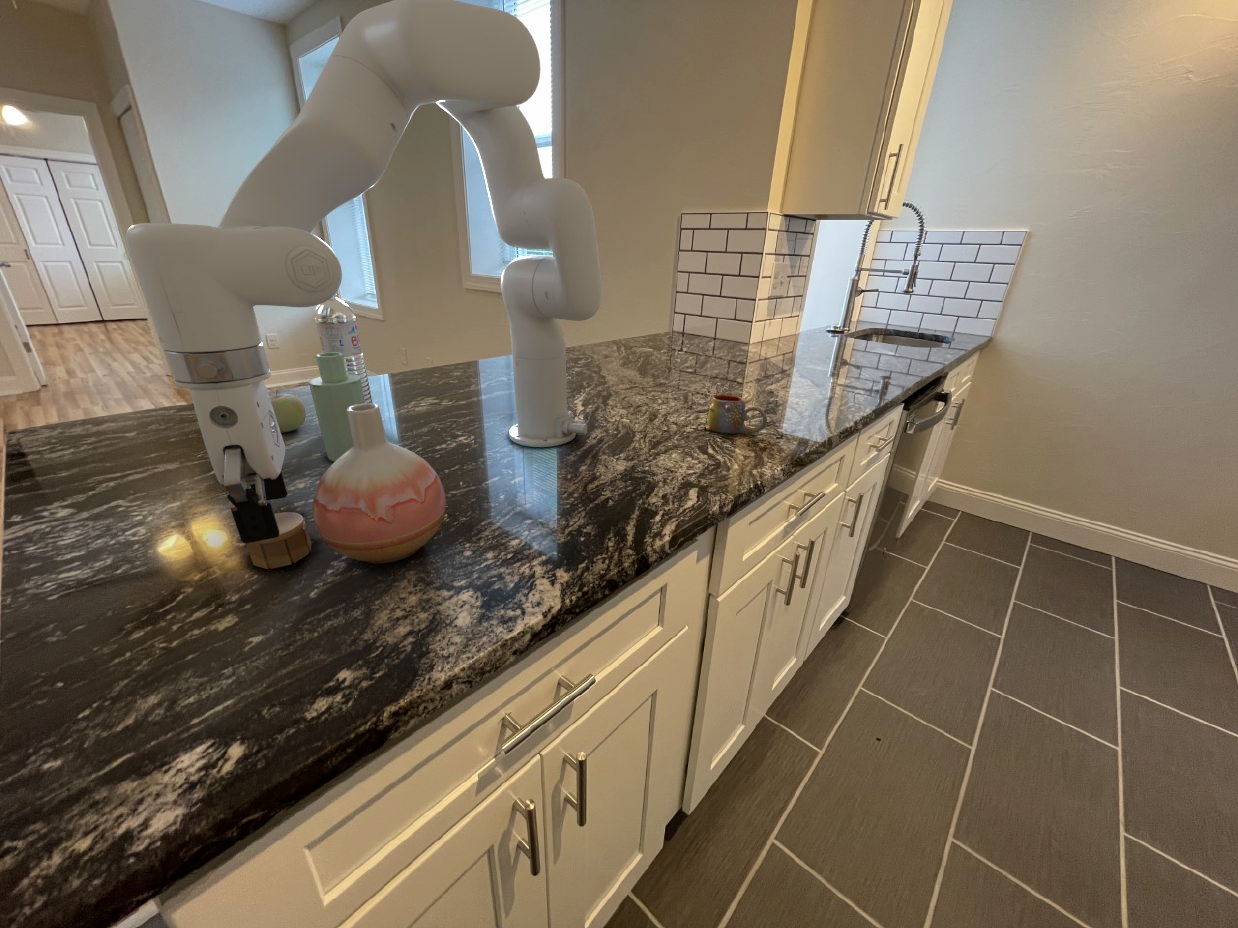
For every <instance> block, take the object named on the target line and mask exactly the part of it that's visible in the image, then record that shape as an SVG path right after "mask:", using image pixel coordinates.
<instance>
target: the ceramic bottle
mask: <svg viewBox="0 0 1238 928" xmlns="http://www.w3.org/2000/svg"><path fill="white" fill-rule="evenodd" d="M315 359H316V362H317V366H318V371H319V374H320V375H319V376H318V377H314V378H312V379H310V380H309V381H308V386H309V389H310V393H311V397H312V401H313V405H314V409H315V413H316V417H317V421H318V425H319V429H320V433H321V437H322V440H323V445H324V448H325V452H326V456H327V459H328V460H329V461H331V462H333V463H334V462H335V461H336V460H337V459H338V458H339V457H341V456H342V455H343V454H344V453H346V452H347V451H348V450H350V449H351V448H352V447H353V441H352V436H351V431H350V426H349V420H348V415H347V409H348V408H349V407H351V406H353V405H357V404H364V403H365V399H364V394H363V389H362V384H361V379H360V376H358V375H353V374H347V371H346V367H345V362H344V357H343V354H342V353H339V352H328V353H323V352H322V353H317V354H316V355H315Z"/></svg>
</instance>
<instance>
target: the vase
mask: <svg viewBox="0 0 1238 928" xmlns="http://www.w3.org/2000/svg"><path fill="white" fill-rule="evenodd" d="M347 415H348V420H349V426H350V431H351V436H352V441H353V447H352V448H351V449H350V450H348V451H347V452H346V453H344V454H343V455H342V456H341V457H339V458H338V459H337V460H336V461H335V462H334V461H333V463H332V464H331V465H330V466H329V467H328V468H327V470H325V472H324V473H323V474H322V476H321V478H320V479H319V482H318V484H317V486H316V489H315V491H314V496H313V503H312V504H313V505H312V512H313V513H312V515H313V516H312V517H313V522H314V525H315V527H316V530H317V533H318V535H319V537H320V538H321V539H322V540H323V542H324V544H326V545H327V546H328V547H329V548H331V549H332V550H334V551H335V552H336V553H338V554H339V555H342V556H343V557H346V558H349V559H352V560H356V561H360V562H361V561H362V562H364V563H368V564H375V565H378V564H379V565H381V564H382V565H383V564H389V563H395V562H399V561H402V560H404V559H407V558H409V557H410V556H412V555H414V554H416V553H417V552H418V551H419V550H420V549H421V548H422V547H423V546H425V545H426V544H427V543H428V542H430V540H432V539H433V537H434V536H435V535H436V534H437V532H438V531H439V529H440V528H441V526H442V524H443V522H444V519H445V516H446V512H447V495H446V491H445V488H444V485H443V483H442V480H441V477H440V476H439V474H438V473H437V471H436V470H435V469H434V467H432V465H430V463H429V462H428V461H427V460H425V459H424V458H423V457H421V456H420V455H418V454H417V453H415V452H414V451H411V450H409V449H408V448H406V447H403V446H401V445H397V444H394V443H392V442H390V441H388V440H387V436H386V432H385V427H384V423H383V418H382V414H381V408H380V406H379V405H378V404H376V403H373V404H372V403H364V404H357V405H353V406H351V407H349V408H348V409H347Z"/></svg>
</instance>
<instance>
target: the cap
mask: <svg viewBox="0 0 1238 928" xmlns="http://www.w3.org/2000/svg"><path fill="white" fill-rule="evenodd" d="M274 515H275V518H276V521H277V525H278V528H279V532H280V533H279V536H278V537H276V538H272V539H266V540H261V541H256V542H251V543H245V545H246V548H247V551H248V554H249V556H250V559H251V562H252V565H253V566H254V567H257V568H262V569H266V570H268V569H271V570H273V569H278V568H282V567H287V566H290V565H292V564H296V563H297V562H298V561H300V560H302V559H303V558H305V557H306V556H308V555H309V554H310V553H311V552H312V540H311V537H310V534H309V533H310V532H309V530H308V527H307V523H306V520H304V517H303V515H301V514H300V513H298V512H291V511H290V512H289V511H285V512H278V513H277V512H276V513H274Z"/></svg>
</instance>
